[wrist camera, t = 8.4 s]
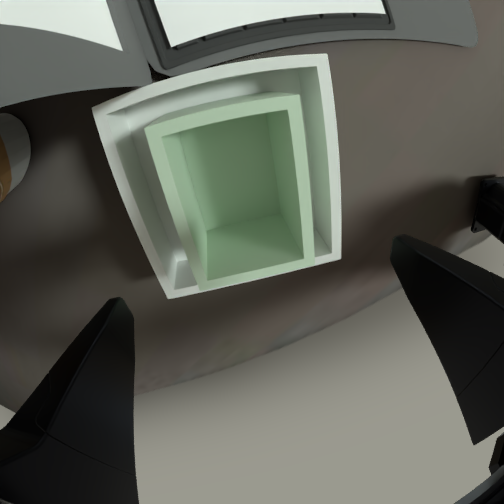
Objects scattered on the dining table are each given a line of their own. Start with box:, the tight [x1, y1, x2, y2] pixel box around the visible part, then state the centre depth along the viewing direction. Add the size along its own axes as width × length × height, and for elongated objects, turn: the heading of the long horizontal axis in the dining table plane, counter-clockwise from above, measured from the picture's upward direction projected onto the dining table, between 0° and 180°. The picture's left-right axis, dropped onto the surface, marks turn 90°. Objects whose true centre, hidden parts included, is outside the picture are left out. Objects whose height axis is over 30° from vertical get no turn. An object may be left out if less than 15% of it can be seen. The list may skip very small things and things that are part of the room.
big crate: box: [92, 54, 341, 299], centre depth 16 cm, size 12×13×4 cm
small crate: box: [144, 91, 315, 291], centre depth 15 cm, size 6×9×6 cm
